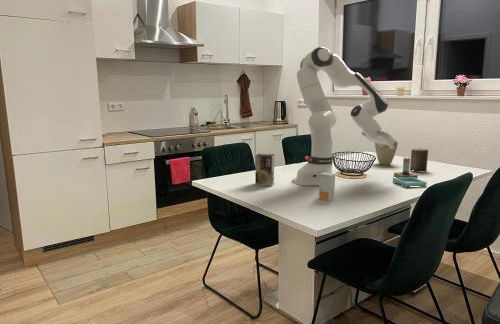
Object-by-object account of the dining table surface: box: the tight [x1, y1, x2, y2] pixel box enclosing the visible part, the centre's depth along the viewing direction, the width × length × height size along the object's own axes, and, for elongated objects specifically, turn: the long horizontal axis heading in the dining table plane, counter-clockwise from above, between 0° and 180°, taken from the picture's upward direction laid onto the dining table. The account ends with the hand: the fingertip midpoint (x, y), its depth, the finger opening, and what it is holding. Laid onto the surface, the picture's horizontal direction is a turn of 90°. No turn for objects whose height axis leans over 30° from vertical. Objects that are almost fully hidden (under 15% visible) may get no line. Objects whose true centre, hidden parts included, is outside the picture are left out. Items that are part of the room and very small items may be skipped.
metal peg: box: [401, 157, 411, 175], centre depth 219 cm, size 4×4×12 cm
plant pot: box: [374, 140, 399, 166], centre depth 261 cm, size 15×15×16 cm
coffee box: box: [254, 153, 275, 187], centre depth 204 cm, size 9×6×16 cm
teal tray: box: [392, 177, 427, 187], centre depth 207 cm, size 12×12×2 cm
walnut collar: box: [393, 171, 419, 179], centre depth 220 cm, size 9×9×3 cm
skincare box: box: [318, 172, 336, 201], centre depth 179 cm, size 6×4×12 cm
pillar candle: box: [409, 147, 429, 172], centre depth 241 cm, size 10×10×15 cm
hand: (387, 147), depth 215 cm, fingers open, 8 cm apart
